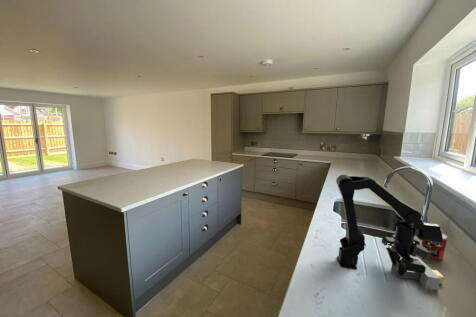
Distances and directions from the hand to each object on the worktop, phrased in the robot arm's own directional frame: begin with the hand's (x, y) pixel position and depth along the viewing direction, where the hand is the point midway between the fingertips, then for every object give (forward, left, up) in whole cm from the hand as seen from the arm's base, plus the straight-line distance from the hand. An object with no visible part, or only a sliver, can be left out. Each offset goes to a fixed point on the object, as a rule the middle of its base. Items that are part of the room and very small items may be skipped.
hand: (397, 271), depth 81 cm
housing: (+8, 0, -1) cm, 8 cm away
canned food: (+23, +18, -1) cm, 29 cm away
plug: (+6, 0, -1) cm, 6 cm away
